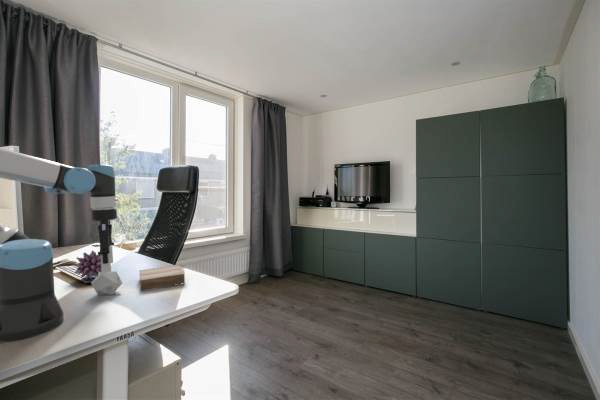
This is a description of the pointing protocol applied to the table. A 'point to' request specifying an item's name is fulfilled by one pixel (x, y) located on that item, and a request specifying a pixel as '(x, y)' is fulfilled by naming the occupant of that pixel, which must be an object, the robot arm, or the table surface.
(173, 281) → the plinth
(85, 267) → the purple spiky ball
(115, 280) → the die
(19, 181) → the robot arm
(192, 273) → the table surface
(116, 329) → the table surface
